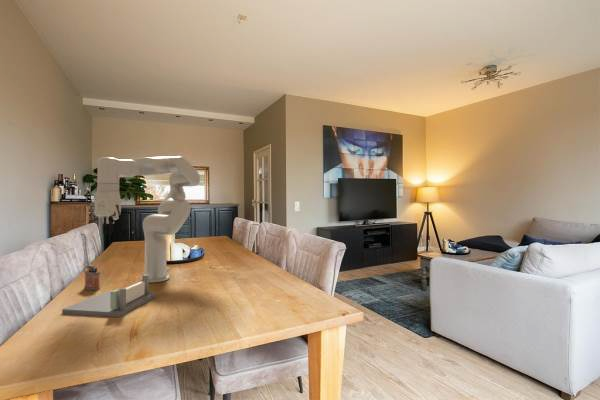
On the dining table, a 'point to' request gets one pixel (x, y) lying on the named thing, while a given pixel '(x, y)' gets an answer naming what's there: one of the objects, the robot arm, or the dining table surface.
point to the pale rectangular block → (127, 294)
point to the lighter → (92, 278)
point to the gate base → (101, 303)
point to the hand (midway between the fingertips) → (108, 233)
